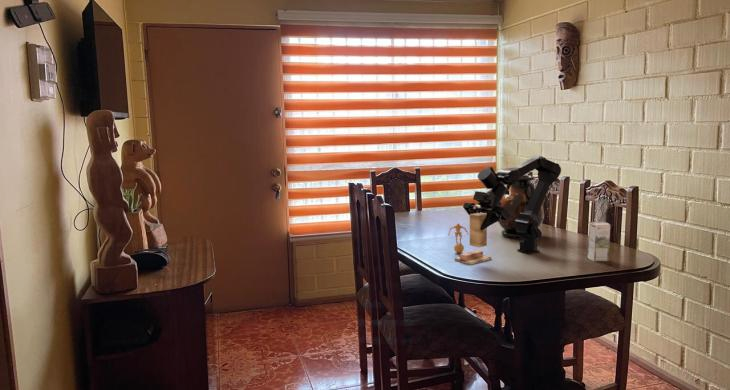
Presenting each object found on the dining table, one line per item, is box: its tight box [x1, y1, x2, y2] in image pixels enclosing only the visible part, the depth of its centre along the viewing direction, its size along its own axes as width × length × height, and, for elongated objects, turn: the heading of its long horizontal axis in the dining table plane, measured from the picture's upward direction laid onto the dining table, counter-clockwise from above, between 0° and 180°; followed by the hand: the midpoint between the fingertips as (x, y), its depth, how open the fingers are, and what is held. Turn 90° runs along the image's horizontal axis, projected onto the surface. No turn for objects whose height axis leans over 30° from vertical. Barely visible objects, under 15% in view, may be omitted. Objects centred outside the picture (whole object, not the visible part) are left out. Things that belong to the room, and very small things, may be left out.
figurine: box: [448, 223, 469, 254], centre depth 221 cm, size 8×6×12 cm
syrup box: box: [587, 221, 611, 263], centre depth 205 cm, size 6×6×14 cm
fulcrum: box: [454, 249, 492, 265], centre depth 209 cm, size 12×8×3 cm, turn 128°
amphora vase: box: [497, 174, 545, 240], centre depth 250 cm, size 22×22×28 cm
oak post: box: [469, 213, 488, 248], centre depth 203 cm, size 4×4×12 cm
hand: (475, 228), depth 202 cm, fingers closed on oak post, 4 cm apart
